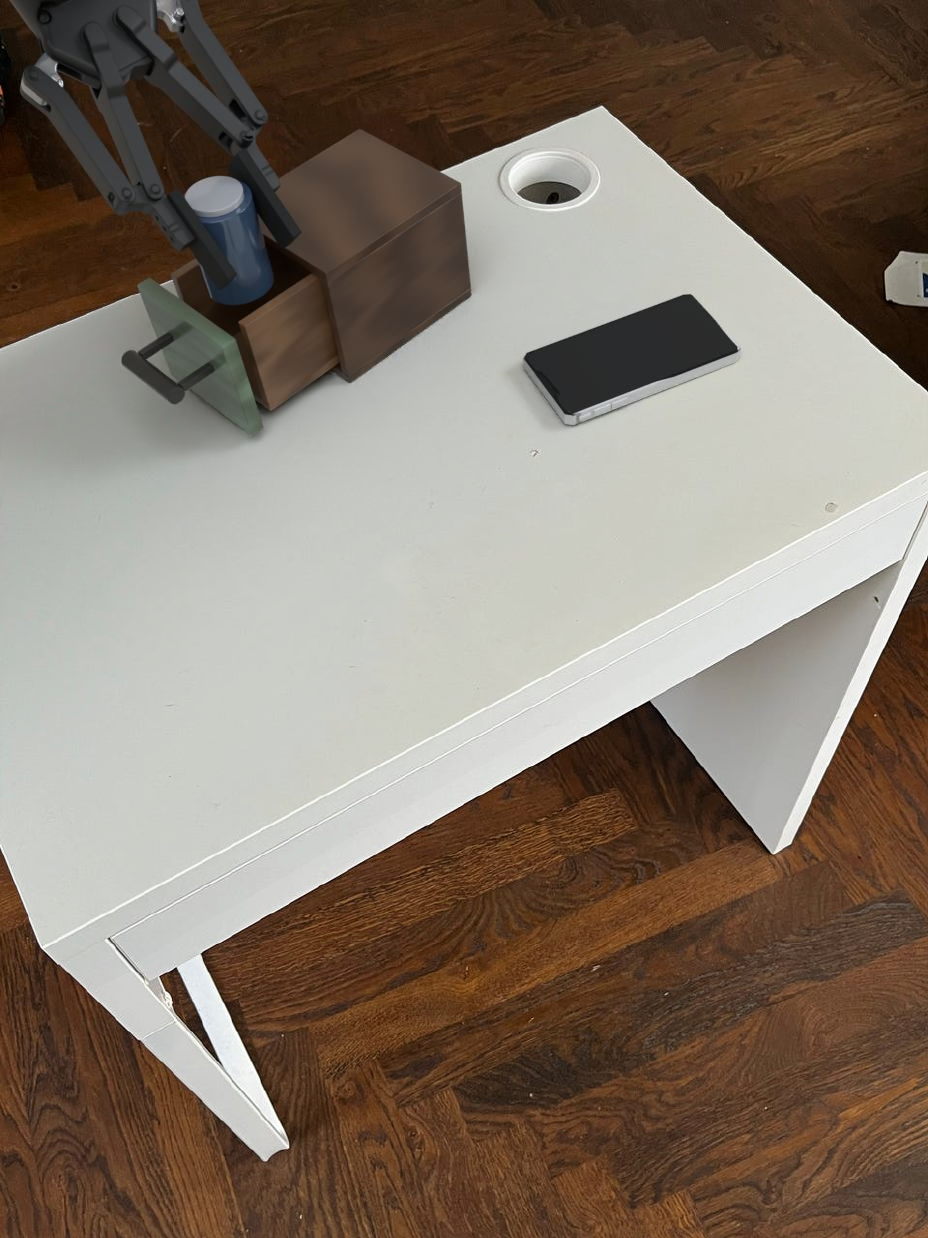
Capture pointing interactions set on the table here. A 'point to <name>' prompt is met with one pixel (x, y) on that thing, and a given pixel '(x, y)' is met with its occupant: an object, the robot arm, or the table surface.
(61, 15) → the robot arm
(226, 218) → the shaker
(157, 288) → the drawer
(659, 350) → the smartphone
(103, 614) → the table surface
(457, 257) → the cabinet
